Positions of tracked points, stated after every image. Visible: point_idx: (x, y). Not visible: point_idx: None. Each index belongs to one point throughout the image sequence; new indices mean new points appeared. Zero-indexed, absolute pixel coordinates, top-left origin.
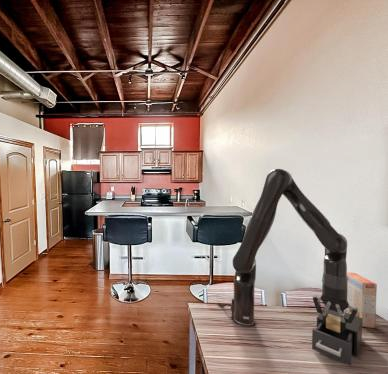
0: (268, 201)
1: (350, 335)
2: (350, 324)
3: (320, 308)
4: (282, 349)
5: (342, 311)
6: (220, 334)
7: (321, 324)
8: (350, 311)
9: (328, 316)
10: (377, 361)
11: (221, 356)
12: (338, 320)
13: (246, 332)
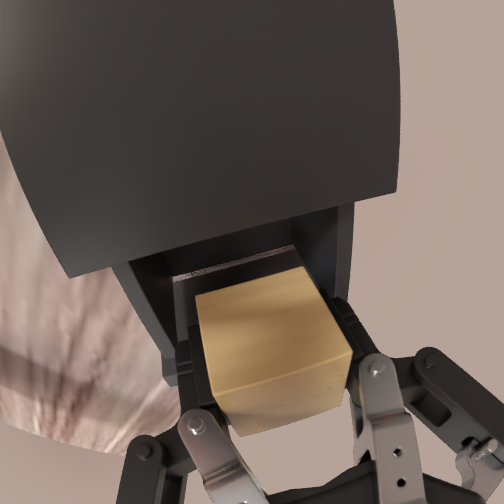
0: None
1: (346, 236)
2: (338, 77)
3: (161, 472)
4: (117, 362)
5: (397, 446)
6: (36, 418)
7: (142, 291)
8: (458, 468)
9: (244, 424)
10: None
11: (111, 444)
12: (327, 400)
13: (23, 379)
